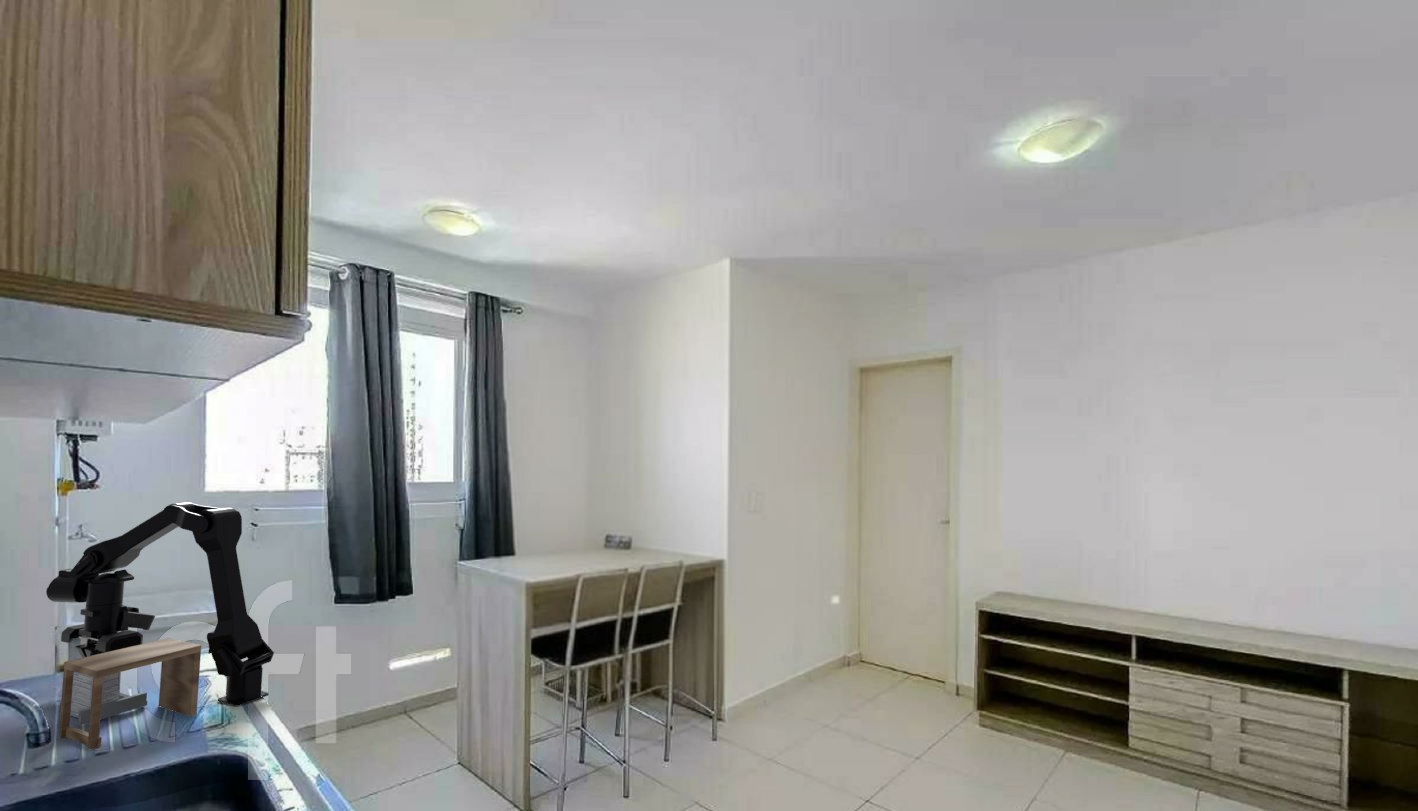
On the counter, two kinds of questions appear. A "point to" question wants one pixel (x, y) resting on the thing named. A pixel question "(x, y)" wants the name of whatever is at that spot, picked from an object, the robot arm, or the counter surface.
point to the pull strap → (115, 707)
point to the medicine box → (84, 691)
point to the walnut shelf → (175, 668)
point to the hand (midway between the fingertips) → (98, 678)
